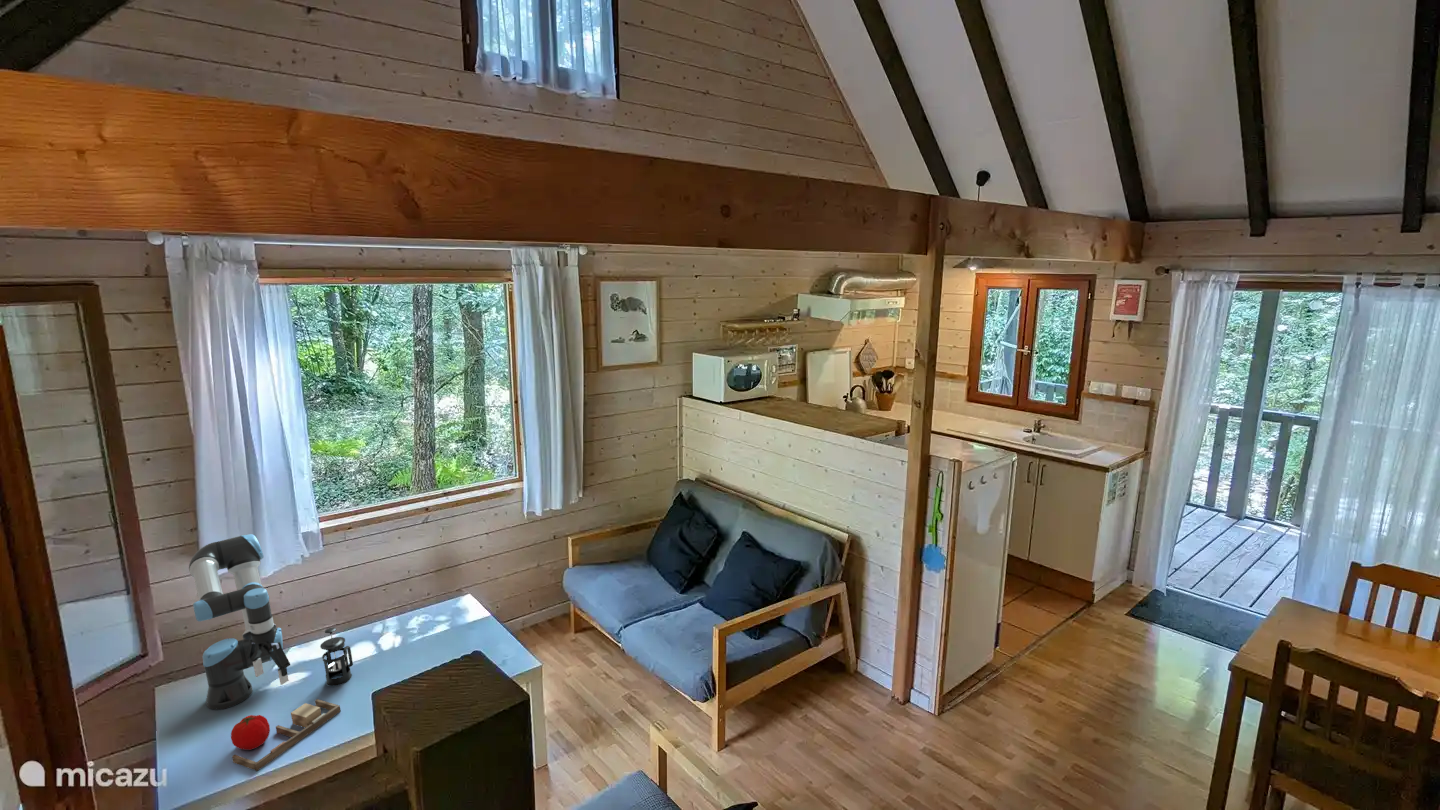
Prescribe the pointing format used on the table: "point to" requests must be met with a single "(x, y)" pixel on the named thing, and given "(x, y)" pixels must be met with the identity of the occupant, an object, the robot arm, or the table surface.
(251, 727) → the tomato
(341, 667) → the french press
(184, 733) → the table surface
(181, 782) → the table surface
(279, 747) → the rack
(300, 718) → the light wooden block
